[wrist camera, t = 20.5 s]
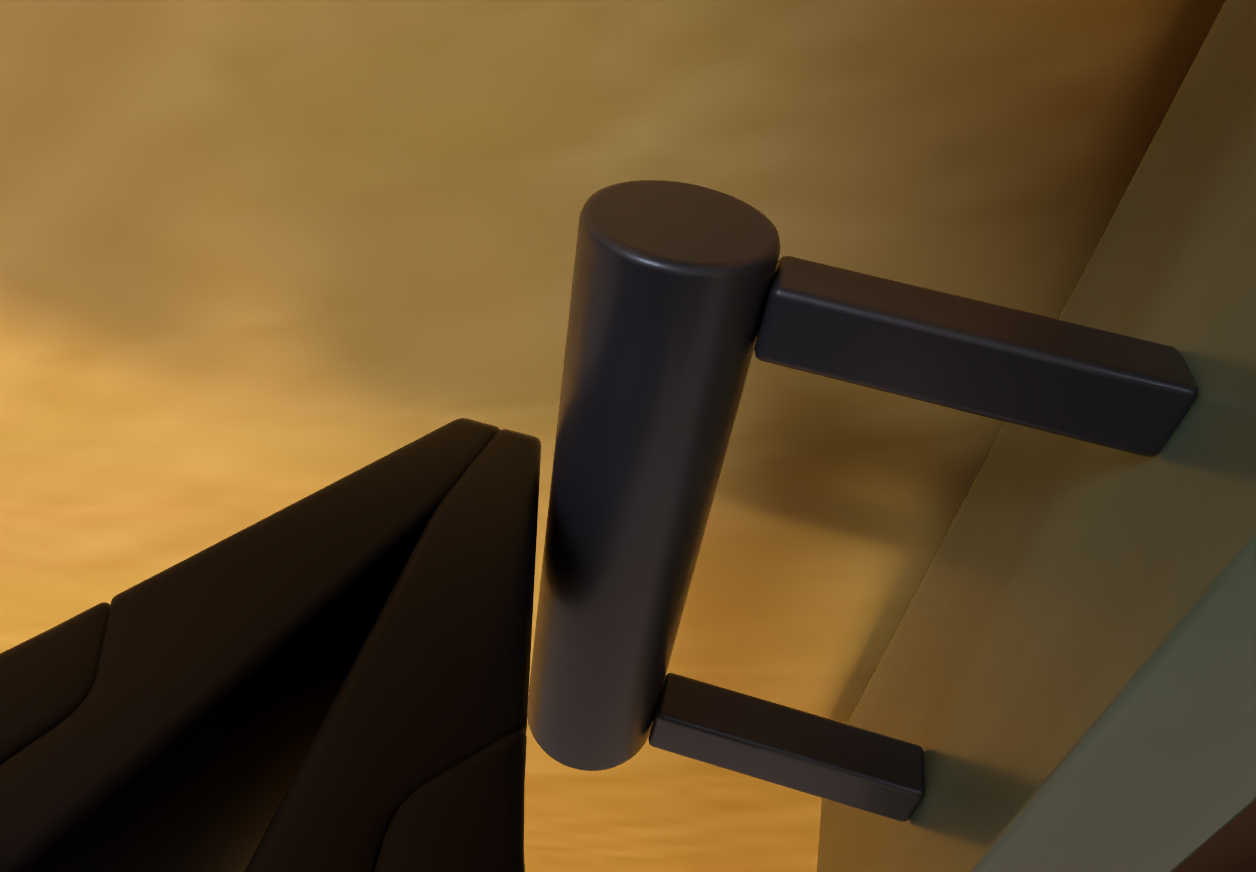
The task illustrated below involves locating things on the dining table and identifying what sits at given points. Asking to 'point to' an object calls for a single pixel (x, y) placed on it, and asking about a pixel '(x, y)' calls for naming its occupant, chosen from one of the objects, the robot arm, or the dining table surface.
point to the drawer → (979, 535)
